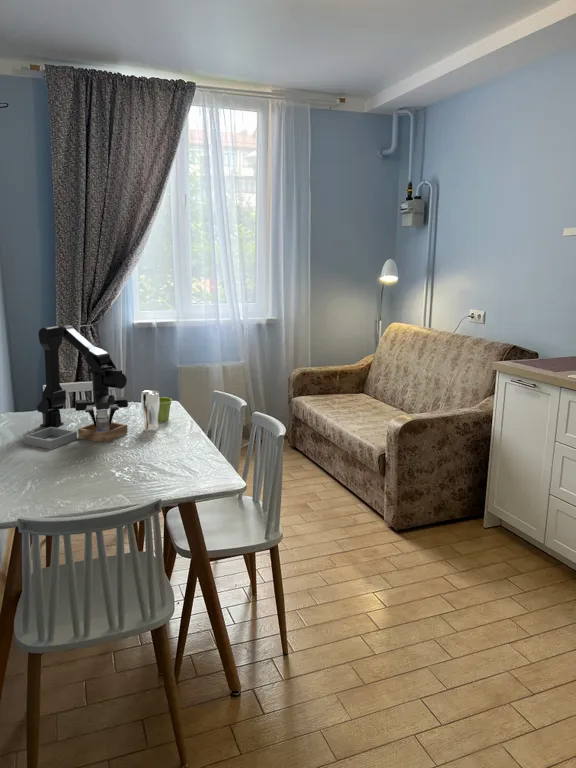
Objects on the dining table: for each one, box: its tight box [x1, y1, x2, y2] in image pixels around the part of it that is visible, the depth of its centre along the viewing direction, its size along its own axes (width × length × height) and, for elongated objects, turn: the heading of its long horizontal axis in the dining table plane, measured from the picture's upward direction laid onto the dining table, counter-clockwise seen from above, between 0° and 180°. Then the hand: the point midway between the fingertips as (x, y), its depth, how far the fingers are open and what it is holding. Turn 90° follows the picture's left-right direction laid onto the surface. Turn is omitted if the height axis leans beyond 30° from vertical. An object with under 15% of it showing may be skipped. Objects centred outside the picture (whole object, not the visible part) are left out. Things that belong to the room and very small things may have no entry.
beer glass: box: [140, 390, 160, 432], centre depth 228 cm, size 7×7×15 cm
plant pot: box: [158, 396, 173, 423], centre depth 241 cm, size 9×9×9 cm
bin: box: [23, 427, 78, 450], centre depth 213 cm, size 13×13×3 cm
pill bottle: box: [95, 409, 109, 432], centre depth 220 cm, size 5×5×8 cm
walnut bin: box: [77, 421, 128, 444], centre depth 221 cm, size 13×13×4 cm
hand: (102, 425), depth 220 cm, fingers closed on pill bottle, 5 cm apart
